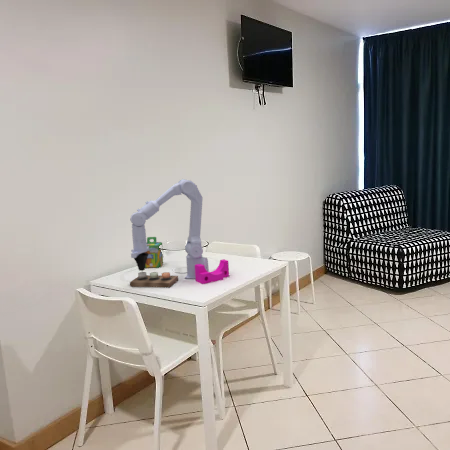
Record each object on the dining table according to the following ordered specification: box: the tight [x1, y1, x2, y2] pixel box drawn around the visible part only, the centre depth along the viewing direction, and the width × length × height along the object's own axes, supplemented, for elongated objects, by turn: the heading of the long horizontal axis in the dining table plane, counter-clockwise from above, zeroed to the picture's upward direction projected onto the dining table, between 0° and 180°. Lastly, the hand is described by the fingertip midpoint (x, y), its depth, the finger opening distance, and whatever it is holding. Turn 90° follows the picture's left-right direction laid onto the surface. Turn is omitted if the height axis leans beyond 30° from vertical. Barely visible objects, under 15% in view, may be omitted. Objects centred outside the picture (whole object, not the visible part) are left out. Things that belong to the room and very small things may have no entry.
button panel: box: [129, 274, 179, 288], centre depth 193 cm, size 18×11×2 cm, turn 77°
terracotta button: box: [161, 272, 171, 278], centre depth 192 cm, size 4×4×2 cm
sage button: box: [149, 271, 159, 278], centre depth 193 cm, size 4×4×2 cm
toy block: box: [195, 259, 230, 285], centre depth 195 cm, size 15×6×8 cm, turn 122°
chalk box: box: [145, 236, 164, 269], centre depth 224 cm, size 9×9×15 cm
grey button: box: [137, 271, 147, 278], centre depth 194 cm, size 4×4×2 cm
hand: (141, 270), depth 194 cm, fingers closed
